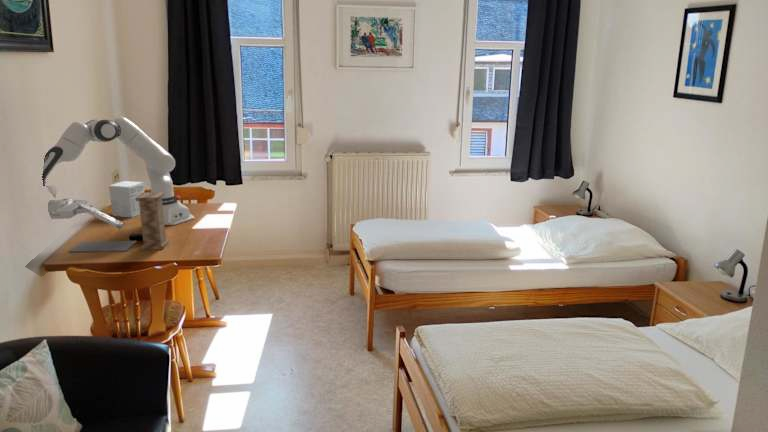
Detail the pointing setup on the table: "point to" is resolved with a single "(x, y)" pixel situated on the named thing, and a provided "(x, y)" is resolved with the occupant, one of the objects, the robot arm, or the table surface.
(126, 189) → the supplement box
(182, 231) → the table surface
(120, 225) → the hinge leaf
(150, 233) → the walnut stand
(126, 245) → the rubber mat
